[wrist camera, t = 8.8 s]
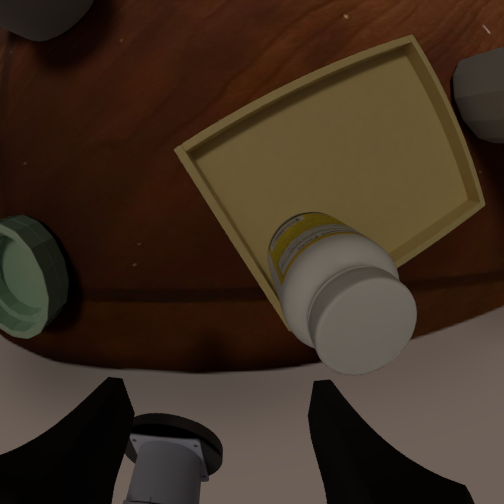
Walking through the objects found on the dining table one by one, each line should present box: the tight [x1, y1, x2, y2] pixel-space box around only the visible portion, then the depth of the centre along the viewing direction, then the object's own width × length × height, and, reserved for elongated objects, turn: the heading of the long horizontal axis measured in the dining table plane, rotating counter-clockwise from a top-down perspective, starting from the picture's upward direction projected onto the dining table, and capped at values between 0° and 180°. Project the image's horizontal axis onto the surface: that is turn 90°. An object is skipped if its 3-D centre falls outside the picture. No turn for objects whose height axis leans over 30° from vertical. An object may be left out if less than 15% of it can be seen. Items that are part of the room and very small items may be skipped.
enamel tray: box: [174, 35, 485, 331], centre depth 17 cm, size 17×13×2 cm
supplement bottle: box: [267, 212, 417, 375], centre depth 14 cm, size 5×5×10 cm
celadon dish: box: [0, 215, 69, 339], centre depth 17 cm, size 9×9×4 cm
